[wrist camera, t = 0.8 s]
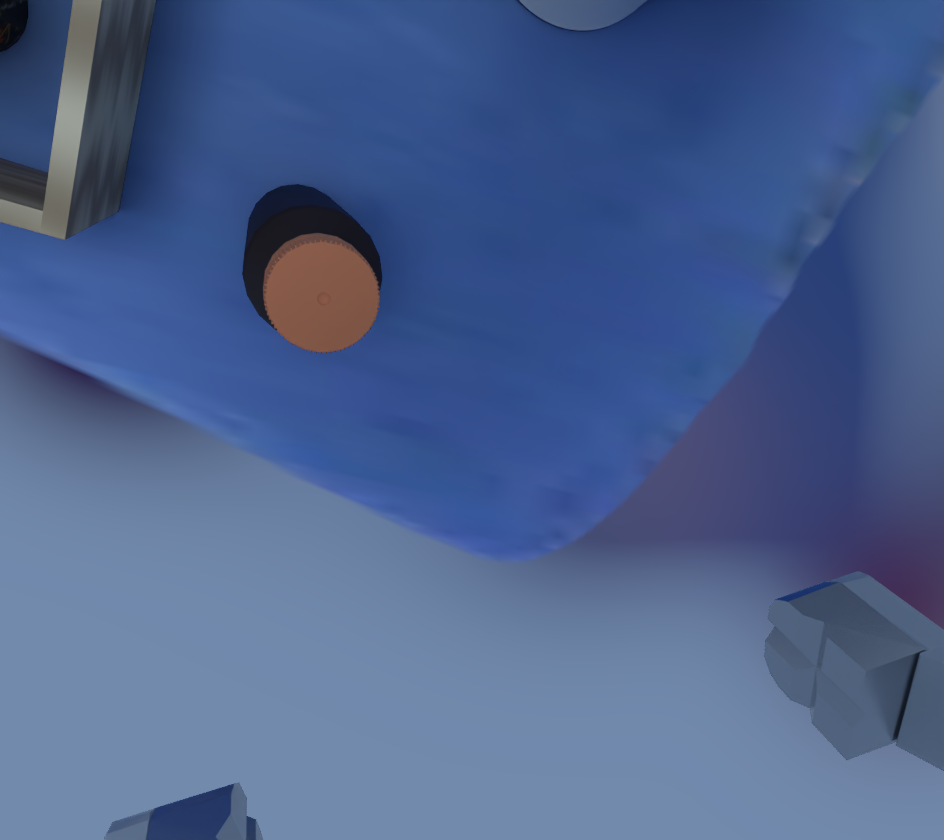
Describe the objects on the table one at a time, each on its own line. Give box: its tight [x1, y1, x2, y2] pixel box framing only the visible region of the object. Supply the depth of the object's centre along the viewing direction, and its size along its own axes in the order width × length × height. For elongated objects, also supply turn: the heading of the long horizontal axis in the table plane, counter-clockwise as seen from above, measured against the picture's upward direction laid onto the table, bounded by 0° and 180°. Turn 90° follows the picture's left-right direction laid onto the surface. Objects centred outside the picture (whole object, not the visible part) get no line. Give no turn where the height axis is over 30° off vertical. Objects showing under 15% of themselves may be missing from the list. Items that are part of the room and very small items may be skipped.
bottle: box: [242, 184, 382, 353], centre depth 36 cm, size 7×7×20 cm
